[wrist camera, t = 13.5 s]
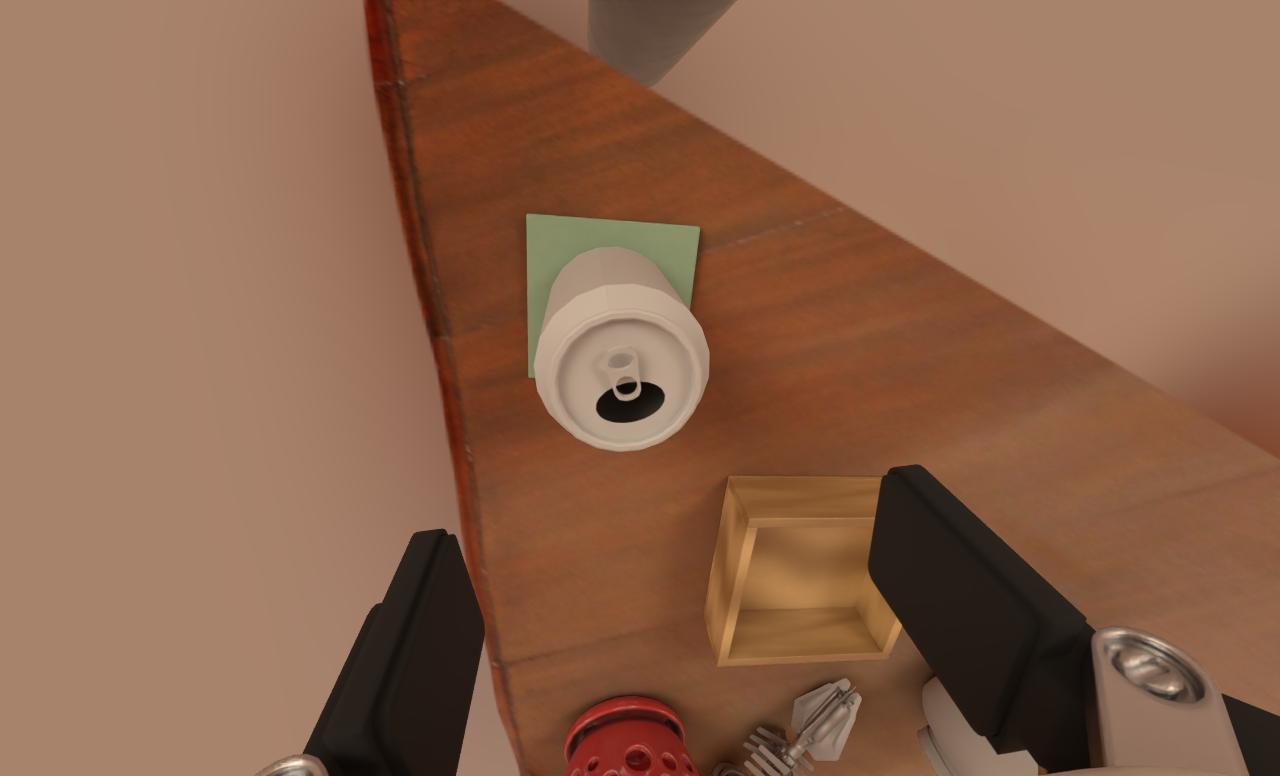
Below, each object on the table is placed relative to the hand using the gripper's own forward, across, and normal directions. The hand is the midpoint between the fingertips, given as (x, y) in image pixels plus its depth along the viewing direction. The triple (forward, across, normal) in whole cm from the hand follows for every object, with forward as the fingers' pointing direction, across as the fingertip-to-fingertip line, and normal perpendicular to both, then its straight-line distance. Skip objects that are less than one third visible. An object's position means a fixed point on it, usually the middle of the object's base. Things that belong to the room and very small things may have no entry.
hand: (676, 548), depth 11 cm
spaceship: (+21, -7, +53) cm, 57 cm away
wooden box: (+22, -13, +23) cm, 34 cm away
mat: (+22, 0, +1) cm, 22 cm away
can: (+21, 0, +1) cm, 21 cm away
